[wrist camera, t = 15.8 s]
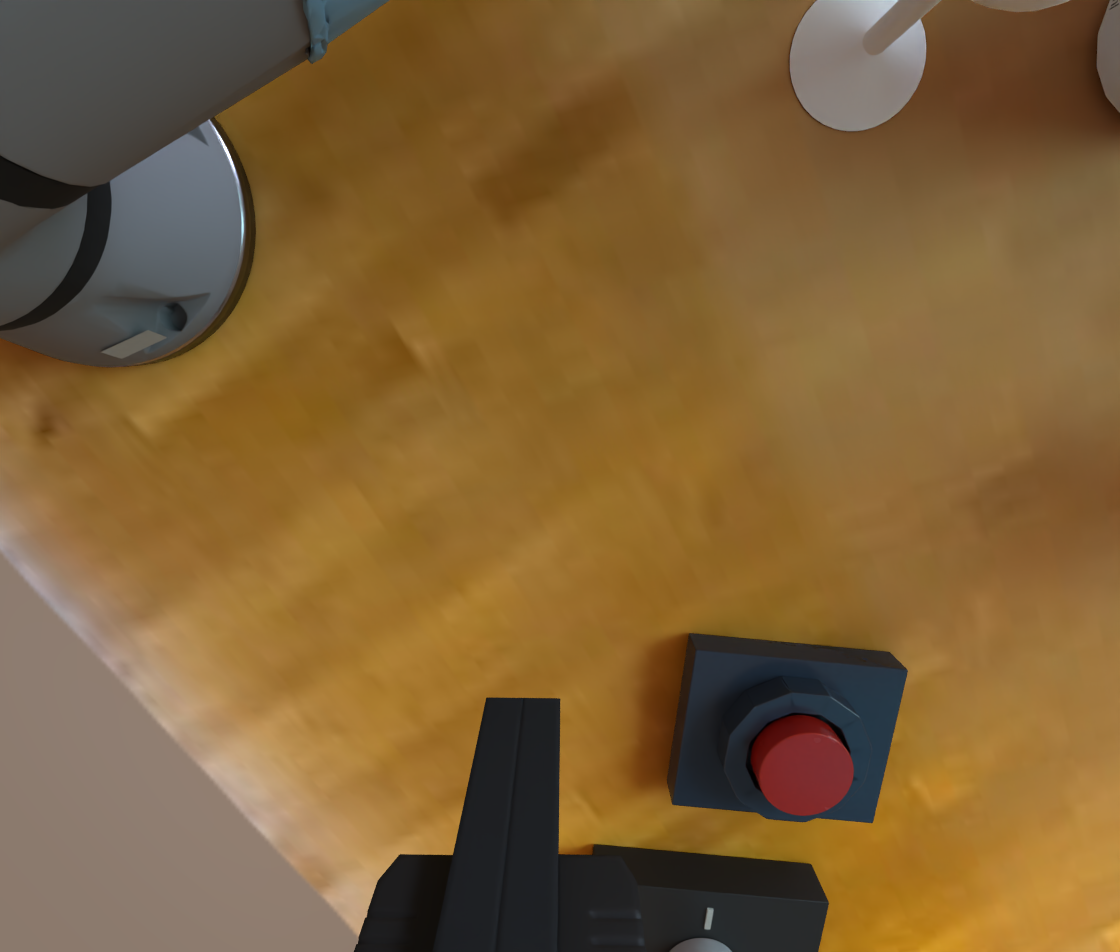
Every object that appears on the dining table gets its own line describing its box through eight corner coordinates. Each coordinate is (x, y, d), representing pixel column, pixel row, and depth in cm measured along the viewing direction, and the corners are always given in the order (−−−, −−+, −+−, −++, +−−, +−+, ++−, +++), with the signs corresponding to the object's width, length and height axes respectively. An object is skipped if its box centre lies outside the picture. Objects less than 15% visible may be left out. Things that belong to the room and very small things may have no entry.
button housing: (666, 780, 41) (676, 827, 38) (688, 632, 39) (702, 666, 35) (857, 798, 42) (887, 846, 38) (889, 651, 39) (925, 686, 36)
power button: (743, 790, 37) (752, 812, 36) (758, 710, 36) (767, 728, 35) (831, 798, 38) (844, 820, 36) (848, 718, 36) (862, 737, 35)
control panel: (575, 983, 45) (576, 1031, 42) (593, 843, 42) (595, 884, 39) (782, 1001, 45) (798, 1051, 42) (811, 863, 43) (830, 905, 40)
